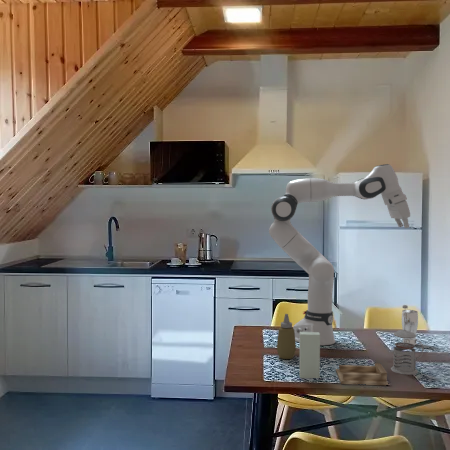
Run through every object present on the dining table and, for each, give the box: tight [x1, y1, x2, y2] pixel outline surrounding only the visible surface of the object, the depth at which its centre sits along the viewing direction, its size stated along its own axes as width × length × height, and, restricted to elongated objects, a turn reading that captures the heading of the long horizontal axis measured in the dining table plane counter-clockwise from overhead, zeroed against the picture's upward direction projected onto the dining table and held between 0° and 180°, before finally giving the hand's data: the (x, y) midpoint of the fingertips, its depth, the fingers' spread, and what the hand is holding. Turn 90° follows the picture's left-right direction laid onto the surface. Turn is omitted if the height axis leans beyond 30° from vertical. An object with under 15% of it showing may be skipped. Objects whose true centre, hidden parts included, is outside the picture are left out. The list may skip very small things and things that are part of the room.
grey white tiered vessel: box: [390, 304, 425, 376], centre depth 181 cm, size 10×12×25 cm
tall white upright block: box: [298, 332, 321, 379], centre depth 174 cm, size 7×4×16 cm, turn 85°
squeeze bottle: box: [276, 313, 297, 360], centre depth 197 cm, size 8×8×18 cm
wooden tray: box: [335, 363, 389, 386], centre depth 173 cm, size 16×13×4 cm
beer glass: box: [401, 309, 419, 346], centre depth 217 cm, size 7×7×15 cm
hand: (404, 227), depth 214 cm, fingers open, 8 cm apart
